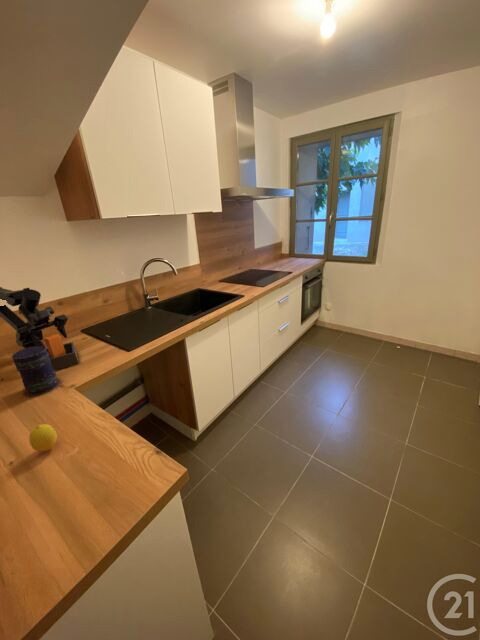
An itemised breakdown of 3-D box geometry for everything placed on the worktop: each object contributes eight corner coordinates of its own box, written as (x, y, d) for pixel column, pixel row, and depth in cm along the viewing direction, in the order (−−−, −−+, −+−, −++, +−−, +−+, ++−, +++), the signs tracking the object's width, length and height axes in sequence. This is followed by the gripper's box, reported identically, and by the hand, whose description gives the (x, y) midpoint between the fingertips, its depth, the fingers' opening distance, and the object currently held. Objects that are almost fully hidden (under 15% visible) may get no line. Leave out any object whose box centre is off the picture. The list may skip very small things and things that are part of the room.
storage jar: (20, 393, 94) (4, 357, 89) (46, 378, 103) (33, 344, 98) (39, 397, 91) (24, 360, 86) (65, 381, 100) (52, 346, 94)
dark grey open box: (44, 361, 117) (40, 350, 115) (76, 352, 123) (73, 341, 121) (43, 374, 106) (38, 362, 104) (78, 363, 112) (74, 352, 110)
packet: (52, 363, 113) (43, 338, 109) (64, 358, 117) (55, 333, 113) (57, 364, 112) (48, 339, 107) (68, 359, 116) (60, 334, 111)
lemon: (45, 441, 72) (36, 418, 69) (65, 440, 72) (56, 417, 69) (30, 458, 67) (19, 434, 64) (51, 458, 67) (40, 434, 64)
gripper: (8, 310, 99) (33, 340, 98) (58, 296, 114) (81, 323, 113) (6, 326, 105) (30, 355, 104) (54, 311, 120) (75, 337, 120)
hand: (55, 341), depth 110 cm, fingers open, 9 cm apart
